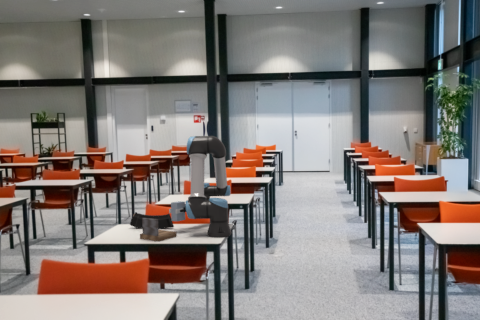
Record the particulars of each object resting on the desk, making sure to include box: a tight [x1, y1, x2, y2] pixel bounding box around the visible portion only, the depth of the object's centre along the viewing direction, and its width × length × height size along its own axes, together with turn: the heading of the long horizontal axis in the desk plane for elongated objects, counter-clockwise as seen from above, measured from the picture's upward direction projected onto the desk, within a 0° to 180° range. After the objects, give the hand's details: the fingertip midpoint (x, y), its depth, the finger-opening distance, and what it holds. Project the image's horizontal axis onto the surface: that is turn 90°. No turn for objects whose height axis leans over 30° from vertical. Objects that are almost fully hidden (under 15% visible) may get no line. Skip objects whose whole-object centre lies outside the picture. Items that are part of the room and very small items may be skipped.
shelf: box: [139, 218, 178, 242], centre depth 327 cm, size 16×16×13 cm
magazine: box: [129, 212, 175, 229], centre depth 358 cm, size 17×3×30 cm
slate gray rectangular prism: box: [170, 200, 186, 222], centre depth 343 cm, size 5×8×12 cm, turn 145°
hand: (172, 211), depth 338 cm, fingers closed on slate gray rectangular prism, 5 cm apart
